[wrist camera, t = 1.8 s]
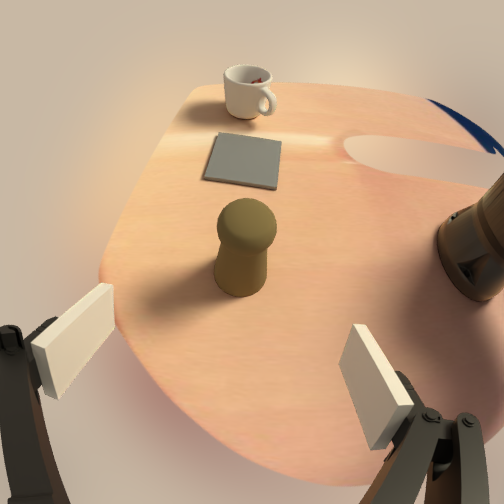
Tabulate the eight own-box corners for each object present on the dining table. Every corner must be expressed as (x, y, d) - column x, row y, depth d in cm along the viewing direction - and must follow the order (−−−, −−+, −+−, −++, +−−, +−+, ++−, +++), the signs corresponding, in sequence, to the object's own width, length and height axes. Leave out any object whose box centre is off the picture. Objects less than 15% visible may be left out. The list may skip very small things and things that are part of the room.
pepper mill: (212, 250, 35) (210, 188, 26) (263, 247, 36) (278, 187, 27) (215, 298, 33) (212, 248, 23) (269, 295, 33) (290, 245, 24)
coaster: (280, 144, 46) (281, 141, 45) (276, 190, 41) (276, 187, 40) (218, 135, 45) (219, 132, 45) (204, 179, 41) (204, 176, 40)
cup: (286, 122, 49) (295, 85, 42) (252, 138, 46) (257, 97, 39) (247, 95, 52) (250, 60, 45) (213, 108, 49) (213, 71, 42)
